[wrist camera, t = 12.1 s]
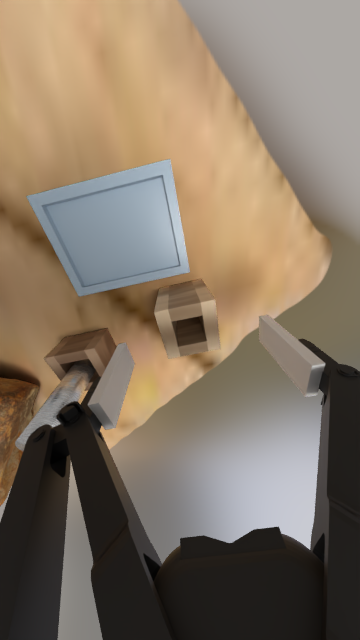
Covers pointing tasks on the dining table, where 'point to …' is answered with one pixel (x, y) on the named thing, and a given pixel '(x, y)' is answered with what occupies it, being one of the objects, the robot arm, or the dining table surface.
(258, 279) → the dining table surface
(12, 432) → the rough brown rock
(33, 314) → the dining table surface
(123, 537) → the robot arm
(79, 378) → the silver metal rod
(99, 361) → the brown hollow block
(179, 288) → the block
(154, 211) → the tray
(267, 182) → the dining table surface
